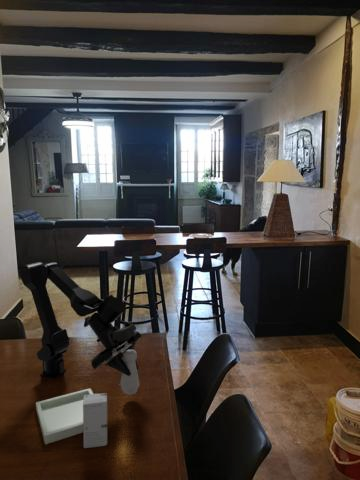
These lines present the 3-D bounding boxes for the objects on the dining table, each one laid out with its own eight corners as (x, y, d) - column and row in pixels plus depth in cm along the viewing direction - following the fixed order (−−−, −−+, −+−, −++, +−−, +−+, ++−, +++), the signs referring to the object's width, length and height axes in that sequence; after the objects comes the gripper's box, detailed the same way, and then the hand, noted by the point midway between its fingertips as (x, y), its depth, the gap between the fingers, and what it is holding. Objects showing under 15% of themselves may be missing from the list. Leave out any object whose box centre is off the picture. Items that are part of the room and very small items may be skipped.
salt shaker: (136, 397, 109) (135, 357, 107) (117, 395, 110) (117, 355, 108) (141, 387, 114) (141, 348, 112) (124, 384, 116) (124, 346, 113)
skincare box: (83, 449, 92) (81, 405, 90) (83, 437, 96) (82, 394, 94) (108, 445, 93) (107, 401, 91) (107, 433, 97) (106, 391, 95)
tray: (36, 410, 107) (35, 402, 107) (90, 395, 115) (90, 388, 114) (45, 444, 93) (44, 436, 93) (106, 424, 101) (105, 417, 100)
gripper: (98, 327, 102) (130, 374, 99) (136, 307, 118) (165, 347, 115) (77, 346, 107) (108, 392, 104) (117, 325, 123) (144, 363, 120)
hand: (133, 372), depth 110 cm, fingers closed on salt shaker, 3 cm apart
